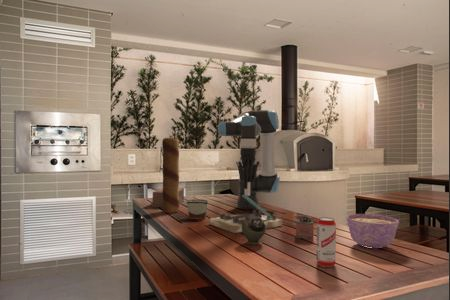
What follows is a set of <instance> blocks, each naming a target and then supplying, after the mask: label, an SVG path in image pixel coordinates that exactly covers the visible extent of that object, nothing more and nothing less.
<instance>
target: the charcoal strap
mask: <svg viewBox="0 0 450 300" xmlns="http://www.w3.org/2000/svg"><path fill="white" fill-rule="evenodd" d="M230 215H231V216H230V218H237V217H245V215H246V216H256V215H258V212H256V213H253V212H251V213H240V214H230ZM222 218H224V219H225V216H222Z"/></svg>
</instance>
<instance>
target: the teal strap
mask: <svg viewBox="0 0 450 300" xmlns="http://www.w3.org/2000/svg"><path fill="white" fill-rule="evenodd" d="M242 197H244V198H245V199H246V200H247V201H249V202H250V203H251V204H252V205H254V206H255V207H256V208H257V209H256V210H258V211H261V214H264V215H265V216H267V217H269V218H271V219H273V215H271V213H270V214H269V212H268V211H266V210H265V209H264V208H263V207H261V206H260V205H257V204H256V203H255V202H254V201H252V200H251V199H250V198H249V197H248V196H246V195H242Z"/></svg>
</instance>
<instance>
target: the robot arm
mask: <svg viewBox="0 0 450 300" xmlns="http://www.w3.org/2000/svg"><path fill="white" fill-rule="evenodd" d="M279 125H280V121H279V116H278V113H277V112H276V111H275V110H270V109H263V110H262V109H261V110H249V111H248V110H247V111H246V112H242V113H240V114H238V115H237V116H236V117H235V118H233V119H231V120H229V121H221V122H219V123H218V125H217V132H218V135H219V136H220V137H240V147H241V148H240V151H239V152H240V153H239V154H240V159H239V161H236V162H235V164H236V166H237V170H238V176H239V180H238V198H237V202H236V203H235V205H236V206H235V208H237V209H240V210H258V209H257V208H256V207H255V206H254V205H252V204H251V203H250V202H249V201H247V200H246V199H245V198H244V197H242V195H246V196H248V197H249V198H250V199H251V200H252V201H254V202H255V203H256V204H257V205H259V201H258V200H259V199H258V198H257V193H265V194H266V193H269V194H276V193H277V192H279V191H278V190H279V186H280V182H281V181H280V179H281V177H280V175H279V174H278V172H277V171H276V169H275V168H276V166H275V165H276V164H275V134H276V132H277V130H278V129H279V127H280V126H279ZM258 136H260V137H259V138H260V139H259V140H260V161H257V160H256V155H257V154H256V153H257V152H256V150H257V149H256V146H257V137H258ZM260 163H261V164H260ZM259 164H260V165H261V170H260V171H259V173H258V166H259ZM259 206H260V205H259Z"/></svg>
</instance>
